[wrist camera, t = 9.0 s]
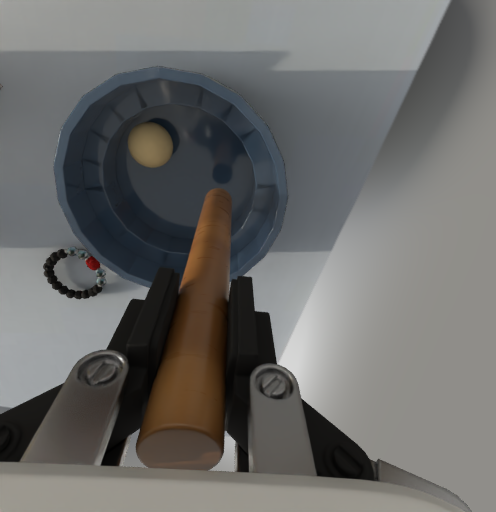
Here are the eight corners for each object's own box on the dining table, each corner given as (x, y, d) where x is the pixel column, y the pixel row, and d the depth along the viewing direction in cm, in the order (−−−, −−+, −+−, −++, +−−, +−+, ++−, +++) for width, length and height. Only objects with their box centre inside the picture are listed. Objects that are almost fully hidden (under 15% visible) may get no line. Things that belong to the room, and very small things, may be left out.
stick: (203, 211, 23) (135, 476, 7) (206, 186, 22) (133, 423, 6) (230, 215, 23) (218, 479, 8) (233, 190, 23) (228, 429, 7)
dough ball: (135, 159, 25) (122, 168, 22) (134, 116, 24) (121, 120, 21) (175, 165, 25) (168, 175, 23) (177, 123, 24) (169, 128, 21)
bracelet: (119, 280, 31) (116, 286, 30) (76, 303, 32) (72, 310, 32) (78, 236, 29) (73, 241, 28) (33, 263, 30) (27, 268, 29)
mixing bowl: (101, 243, 29) (69, 281, 24) (86, 54, 22) (35, 44, 17) (259, 261, 31) (265, 301, 25) (293, 91, 24) (311, 93, 18)
